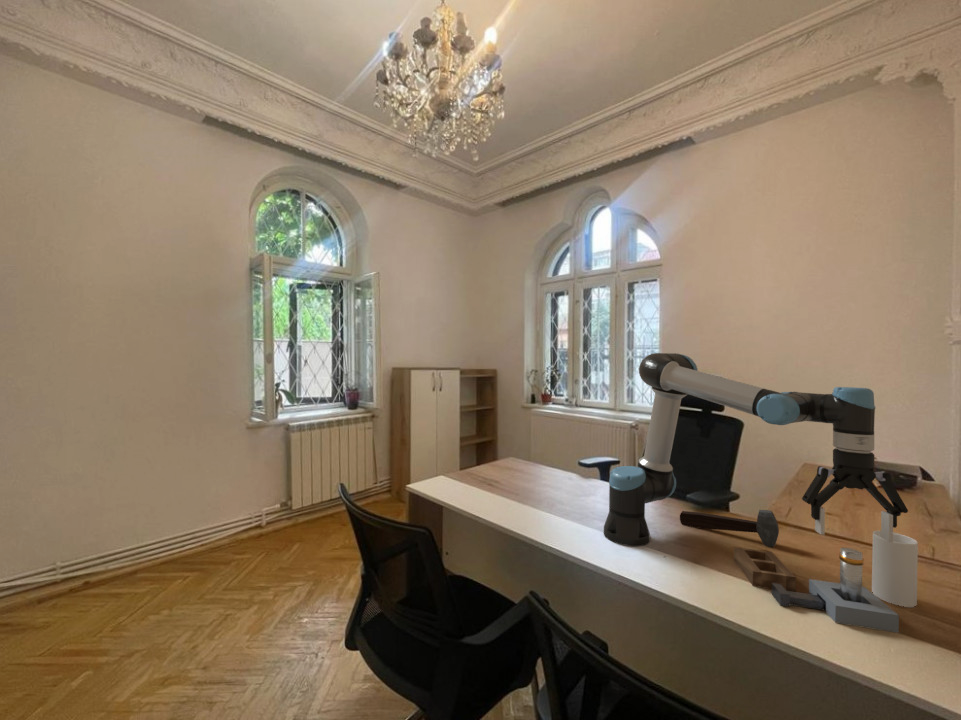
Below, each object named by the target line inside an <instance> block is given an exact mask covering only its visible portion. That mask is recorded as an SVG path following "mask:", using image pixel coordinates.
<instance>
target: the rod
mask: <svg viewBox="0 0 961 720" xmlns="http://www.w3.org/2000/svg"><path fill="white" fill-rule="evenodd" d="M838 559H839V561H840V563H839V583H840V597H841V598H842V599H843V600H845V601H852V602H859V603H862V587H863V566H864V561H865V559H864V558H863V552H861V551H860V550H857V549H855V548H850V547H846V546H845V547H840V551H839V553H838Z"/></svg>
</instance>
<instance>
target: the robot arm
mask: <svg viewBox="0 0 961 720" xmlns="http://www.w3.org/2000/svg"><path fill="white" fill-rule="evenodd" d="M697 366H698V365H697V364H696V362H695V361H694V360H693V359H692V358H691V357H689V356H688V355H685V354H681V353H676V352H675V353H673V352H672V353H669V352H667V353H663V352H662V353H661V352H655V353H651V354H648V355H646V356H645V357H644V358H643V359H642V360H641V361H640V364H639V368H638V374H639V376H640V379H641V380H642V381H643V383H645V384H646V385H647V386H650V387H651V390H652V391H653V393H654V399H653V404H652V410H651V415H650V421H649V426H648V433H647V436H646V443H645V449H644V455H643V456H642V457H640V458H639V459H638V463H637V466H635V465H634V466H633V465H621V466H617V467H614V468H613V469H611V471H610V475H609V479H608V482H609V483H608V484H609V485H608V486H609V487H608V488H609V490H608V491H609V493H608V494H609V500H608V501H609V502H608V505H609V509H608V514H607V516H606V520H605V523H604V524H603V537H604V536H605V538H606V539H607V540H609V541H612V542H613V543H616V544H619V545H622V546H628V547H630V546H631V547H641V546H643V547H644V546H646V545H647V544H649V543H650V542H651V541H650V540H651V537H650V536H651V534H650V530H649V527H648V524H647V519H646V515H645V514H646V512H645V511H646V504H649V503H653V502H657V501H662V500H665V499H667V498H669V497H670V496H671V495H673V493H674V492H675V490H676V487H677V478H676V477H675V474H674V467H673V466H672V464H671V463H670V461H671V455H672V449H673V445H674V440H675V435H676V429H677V424H678V419H679V413H680V408H681V402H682V399H683V398H685V397H686V396H688V395H689V396H692V397H696V398H699V399H702V400H706V401H708V402H711V403H715V404H718V405H722V406H723V407H727V408H730V409H734V410H737V411H740V412H743V413H746V414H749V415H753V416H755V417H758V418H760V419H761V420H762V421H764V422H765V423H768V424H771V425H774V426H775V425H776V426H777V425H778V426H786V425H790V424H794V423H802V422H812V423H824V424H832V446H833V447H834V449H833V450H832V464H833V466H832V468H828V467H827V468H826V467H824V466H817V469H816V474H815V476H814V478H813V480H812V481H811V483H810V484H809V486H808V488H807V489H806V490H805V493H804V494H803V496H801V501H803V502H804V503H806V504H808V505H810V508H811V509H810V510H811V511H810V514H811V515H810V516H811V518H812V519H814V531H815V532H817V533H818V535H819V534H820V535H821V536H825V535H826V534H825V529H826V526H825V520H826V519H825V517H826V516H825V515H826V511H825V509H826V508H824V507H822V506H823V505H824V504H826V502H828V501H829V500H830V499H831V498H832V497H833V496H835V494H836V493H837V494H838V492H839V491H840V490H843V489H844V488H846V489H858V490H864V489H865V490H866V491H867V492H868V493H869V495H871V496H872V498H874V499H875V501H876V502H878V503H879V505H881V507H882V508H883V509H884V510H881V511H880V517H881V518H880V521H881V523H880V525H881V526H880V529H881V530H880V531H881V538H883V539H885V540H886V541H888V542H892V543H893V532H894V528H897V527H898V517H899V516H901V515H902V513H904V514H907V513H908V512H909V509H908V508H907V506H906V504H905V503H904V500H903V499H902V497H901V496H900V494H899V492H898V491H897V489H896V487H895V485H894V484H893V481H892V475H891V473H890V472H887V471H884V470H878V471H874V468H875V454H874V453H873V451H875V415H876V414H875V413H876V406H875V394H874V393H875V392H874V391H873V390H872V389H870V388H869V387H868V388H867V387H853V386H852V387H851V386H849V387H848V386H837V387H836V386H835V387H834V388H833V390H832V391H833V392H832V393H814V392H813V393H811V392H799V391H781V392H779V391H775V390H772V389H766V388H764V387H760V386H756V385H753V384H750V383H749V384H748V383H745V382H741V381H736V380H733V379H729V378H725V377H722V376H718V375H715V374H710V373H707V372H703V371H699V370H698V367H697ZM831 475H832V476H833V478H832V479H831V480H830V481H829V483H828V484H827V485H826V486H825V487H824V485H825V484H826V482H827V480H828V478H830V477H831ZM875 479H876V480H877V481H879V484H880V486H881V487H882V489H883V491H884V492H885V494H886V495H887V497H888V499H889V500H890V501H889V500H888V499H887V498H886V497H885V496H884V495H883V494H882V492H881V491H879V490H878V487H876V486H875V485H874V483H873V481H874V480H875ZM823 487H824V488H823ZM822 488H823V489H822Z"/></svg>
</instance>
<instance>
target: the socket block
mask: <svg viewBox="0 0 961 720" xmlns="http://www.w3.org/2000/svg"><path fill="white" fill-rule="evenodd" d="M808 594H812V595H819V596H820V597H821V598H822V599H823V600H824V601H825V602H826V610H825V613H826V614H827V615H828V617H830V619H831V620H832V621H833V622H834V623H837V624H840V625H841V624H842V625H847V626H855V627H861V628H868V629H873V630H880V631H886V632H893V633H897V634H899V633H900V629H899V627H900V626H899V625H900V615H899V614H898V613H897V612H896V611H894V610H893V609H892V608H891V607H890V606H888V605H887V604H885V602H883V600H882V599H880V598H878V597H877V596H875V595H874V594H873V593H872V591H870V590H869V589H868V588H866V587H865V586H862V603H859V602H852V601H845V600H843V599H842V598H841V597H840V582H839V583H838V582H833V581H824V580H819V579H812V578H808Z"/></svg>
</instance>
